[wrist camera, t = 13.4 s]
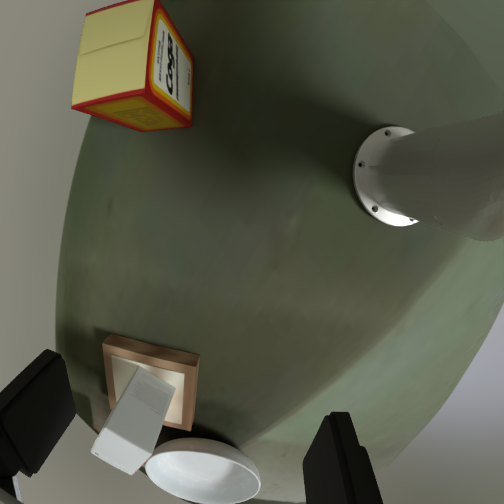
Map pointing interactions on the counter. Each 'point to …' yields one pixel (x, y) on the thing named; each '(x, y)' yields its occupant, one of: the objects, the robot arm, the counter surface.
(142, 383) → the small box
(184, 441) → the serving bowl
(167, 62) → the baking soda box
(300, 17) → the counter surface
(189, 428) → the picture frame
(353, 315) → the counter surface
